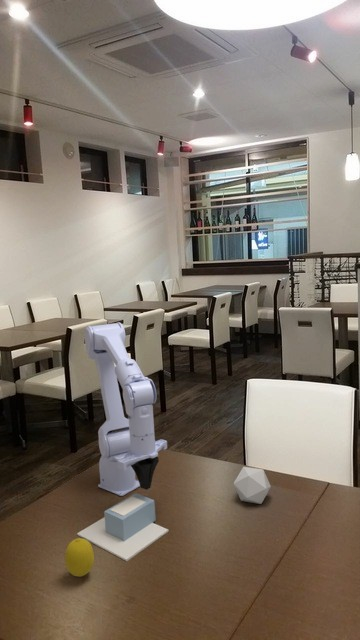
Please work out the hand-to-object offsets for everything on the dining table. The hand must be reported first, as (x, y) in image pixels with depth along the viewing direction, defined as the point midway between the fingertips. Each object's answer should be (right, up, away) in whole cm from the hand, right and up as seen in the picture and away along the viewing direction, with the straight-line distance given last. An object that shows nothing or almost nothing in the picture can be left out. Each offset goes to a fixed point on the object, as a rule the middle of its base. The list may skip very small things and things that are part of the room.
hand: (145, 487), depth 115 cm
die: (+26, -6, +7) cm, 28 cm away
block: (0, -5, 0) cm, 5 cm away
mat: (-5, -9, -5) cm, 11 cm away
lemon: (-11, -11, -19) cm, 25 cm away
